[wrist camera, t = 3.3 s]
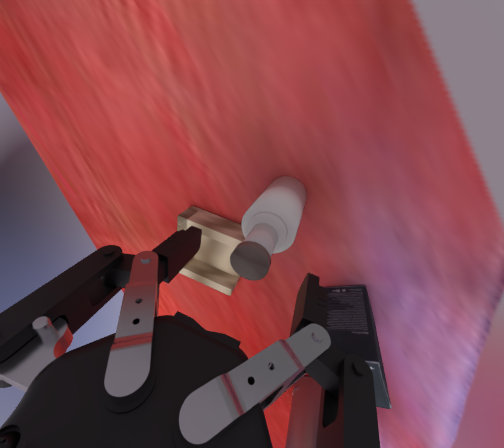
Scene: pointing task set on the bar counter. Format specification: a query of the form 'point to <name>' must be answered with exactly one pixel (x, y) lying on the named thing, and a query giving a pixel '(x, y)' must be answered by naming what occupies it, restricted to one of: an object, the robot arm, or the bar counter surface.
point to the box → (357, 332)
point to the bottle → (269, 227)
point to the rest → (212, 249)
